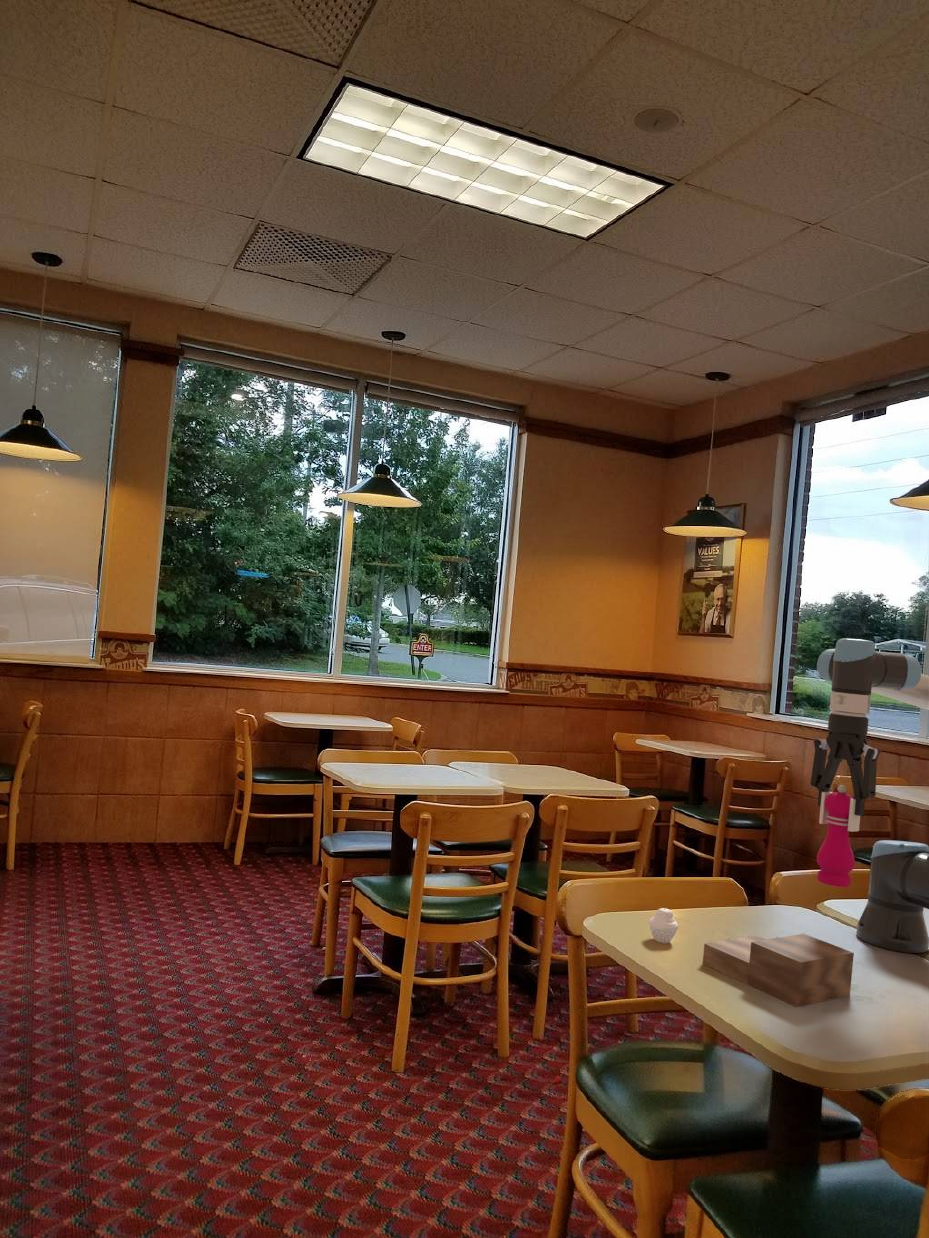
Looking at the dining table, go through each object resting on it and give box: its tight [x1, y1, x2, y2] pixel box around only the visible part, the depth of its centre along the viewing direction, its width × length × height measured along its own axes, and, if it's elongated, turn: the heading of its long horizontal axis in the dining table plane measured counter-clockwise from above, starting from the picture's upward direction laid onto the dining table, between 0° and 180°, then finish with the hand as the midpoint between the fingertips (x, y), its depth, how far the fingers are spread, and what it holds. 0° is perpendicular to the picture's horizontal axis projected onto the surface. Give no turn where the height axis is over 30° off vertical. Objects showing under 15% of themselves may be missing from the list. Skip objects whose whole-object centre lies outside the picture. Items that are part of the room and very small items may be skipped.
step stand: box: [702, 933, 855, 1008], centre depth 178 cm, size 16×22×8 cm
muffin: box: [648, 907, 679, 944], centre depth 195 cm, size 6×6×7 cm
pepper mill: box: [816, 784, 855, 888], centre depth 187 cm, size 7×7×20 cm
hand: (838, 826), depth 187 cm, fingers closed on pepper mill, 6 cm apart
